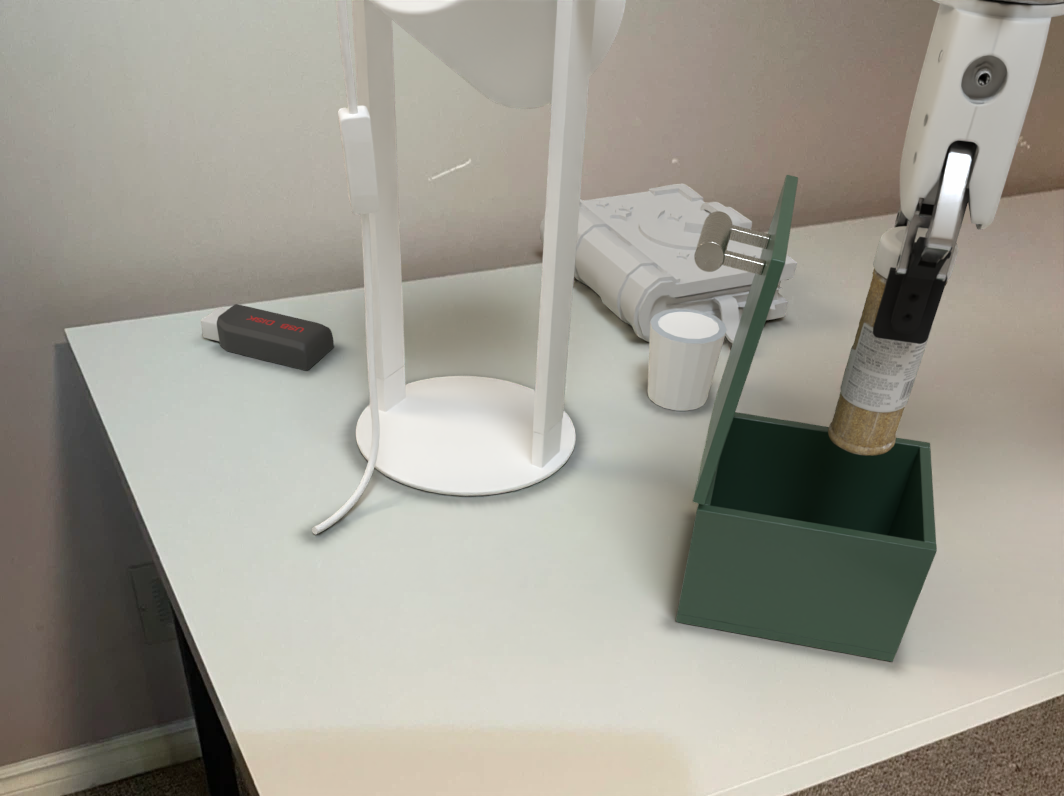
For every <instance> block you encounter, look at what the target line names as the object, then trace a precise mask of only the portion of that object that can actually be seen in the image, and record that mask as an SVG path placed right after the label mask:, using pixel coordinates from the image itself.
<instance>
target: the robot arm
mask: <svg viewBox="0 0 1064 796" xmlns="http://www.w3.org/2000/svg"><path fill="white" fill-rule="evenodd" d="M932 1H933V2H934V3H937V4H939V5H938V9H937V12H936V16H935V20H934V23H933V27H932V31H931V34H930V38H929V41H928V45H927V49H926V52H925V55H924V59H923V63H922V67H921V70H920V75H919V79H918V82H917V85H916V90H915V93H914V98H913V102H912V107H911V110H910V115H909V119H908V124H907V128H906V132H905V138H904V142H903V148H902V153H901V158H900V164H899V200H900V202H899V203H900V204H899V207H898V211H897V215H896V218H895V222H894V227H893V228H895V227H901V226H907V227H906V231H905V234H904V238H903V242H902V246H901V250H900V253H899V257H898V261H897V265H896V268H893V267H890V271H889V274H888V277H887V281H886V284H885V288H884V291H883V295H882V298H881V302H880V305H879V309H878V312H877V316H876V319H875V323H874V326H873V335H874V336H875V337H877V338H882V339H889V340H896V341H903V342H910V343H917V344H922V343H924V342H926V341H927V339H928V340H929V338H928V336H929V337H930V335H929V333H930V334H931V332H930V330H931V331H932V329H931V327H932V328H933V325H934V321H935V319H936V315H937V312H938V309H939V306H940V303H941V300H942V297H943V294H944V290H945V288H946V286H947V284H946V282H947V279H948V278H947V273H948V270H949V267H950V263H951V260H952V256H953V253H954V249H955V246H956V243H958V239H959V236H960V232H961V229H962V226H963V221H964V217H965V214H966V211H967V208H968V210H969V211H968V212H969V215H970V224H972V225H975V227H976V230H979V231H983V230H986V229H987V228H988V227H990V226H991V225H992V224H993V223H994V220H995V218H996V215H997V211H998V208H999V205H1000V201H1001V199H1002V195H1003V191H1004V188H1005V186H1006V181H1007V178H1008V175H1009V172H1010V168H1011V166H1012V163H1013V159H1014V155H1015V152H1016V149H1017V146H1018V142H1019V139H1020V137H1021V134H1022V131H1023V126H1024V124H1025V121H1026V116H1027V113H1028V110H1029V107H1030V104H1031V100H1032V97H1033V94H1034V89H1035V86H1036V82H1037V79H1038V76H1039V71H1040V68H1041V64H1042V60H1043V56H1044V52H1045V49H1046V44H1047V39H1048V35H1049V30H1050V26H1051V20H1052V18H1055V17H1056V18H1057V17H1060V16H1064V0H931V2H932ZM918 227H919V228H927V229H928V231H927V232H926V235H925V237H919V238H918V239H917V242H915V238H916V235H917V231H918ZM947 283H948V282H947ZM945 285H946V286H945Z"/></svg>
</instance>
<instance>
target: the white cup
mask: <svg viewBox="0 0 1064 796" xmlns="http://www.w3.org/2000/svg"><path fill="white" fill-rule="evenodd" d="M726 331H727V329H726V327H725V324H724V322H722V321H721V320H720V319H719V318H717V317H716V316H714V315H711V314H709V313H706V312H703V311H698V310H693V309H670V310H665V311H662V312H660V313H658V314H656V315H654V316H653V318H652V320H651V321H650V343H649V342H648V344H649V346H648V369H647V370H648V371H647V395H648V398H649V400H651V402H652V403H653V404H655V405H657V406H659V407H661V408H663V409H667V410H672V411H682V412H684V411H685V412H686V411H687V412H689V411H693V410H697V409H700V408H701V407H703V406H704V405H705V404H706V402H707V400H708V398H709V393H710V390H711V387H712V384H713V380H714V376H715V372H716V370H717V366H718V362H719V358H720V355H721V352H722V349H723V346H724V345H723V344H724V341H725V338H726V336H725V334H726Z"/></svg>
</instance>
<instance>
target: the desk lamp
mask: <svg viewBox="0 0 1064 796" xmlns="http://www.w3.org/2000/svg"><path fill="white" fill-rule="evenodd" d="M626 2H627V0H351V15H352V29H353V30H352V31H353V48H354V64H353V57H352V48H351V47H352V46H351V39H350V27H349V26H350V25H349V17H348V16H349V15H348V6H347V5H348V4H347V0H335V6H336V7H335V8H336V18H337V19H336V20H337V28H338V38H339V48H340V56H341V63H342V64H341V65H342V73H343V81H344V88H345V96H346V102H347V107H340V108H339V109H338V111H337V118H338V119H337V120H338V125H339V126H338V128H339V134H340V135H339V137H340V143H341V150H342V159H343V166H344V174H345V181H346V187H347V196H348V203H349V207H350V210H351V214H352V215H354V216H359V218H360V229H361V244H362V265H363V284H364V285H363V288H364V289H363V291H364V293H363V294H364V320H365V321H364V322H365V345H366V347H365V348H366V366H367V381H368V396H369V397H368V398H369V404H368V405H367V406H366V407H365V408H364V409H363V411H362V412H361V413H360V415H359V417H358V419H357V422H356V426H355V440H356V444H357V447H358V449H359V451H360V453H361V454H362V456H363V457H364V458H365V460H366V461H367V464H366V467H365V470H364V472H363V475H362V478H361V480H360V482H359V483H358V485H357V487H356V489H355V490H354V492H352V494H351V496H350V497H349V498H348V500H347V501H346V502H345V503H344V504H343V505H342V506H340V508H339V509H338V510H337V511H335V512H334V513H333V514H332V515H330V516H329V517H328V518H326V519H325V520H323V521H322V522H320V523H318V524H316V525H315V526H312V527H311V531H312V533H313V535H318V534H320V533H322V532H324V531H326V530H328V528H330V527H332V526H333V525H334V524H337V522H338V521H340V520H341V519H342V518H343V517H344V516H345V515H346V514H347V513H348V512H350V510H351V509H352V508H353V507H354V506H355V505H356V503H357V502H358V501H359V500H360V498H361V497H362V496H363V494H364V492H365V490H366V489H367V487H368V486H369V485H368V484H369V483H370V481H371V478H372V476H373V473H374V470H375V469H376V470H377V471H378V472H380V473H381V474H383V475H384V476H386V477H388V478H390V479H391V480H394V481H396V482H398V483H400V484H402V485H404V486H408V487H411V488H414V489H417V490H420V491H425V492H430V493H435V494H440V495H447V496H460V497H461V496H464V497H465V496H466V497H469V496H470V497H471V496H473V497H475V496H477V497H478V496H491V495H498V494H504V493H509V492H513V491H518V490H521V489H524V488H528V487H531V486H533V485H535V484H537V483H539V482H541V481H544V480H546V479H548V478H549V477H551V476H552V475H554V474H555V473H557V471H559V470H560V469H561V468H562V467H563V466H564V465H565V464H566V463H567V462H568V460H569V459H570V458H571V456H572V454H573V452H574V450H575V446H576V441H577V440H576V438H577V435H576V429H575V425H574V423H573V421H572V419H571V417H570V415H569V414H568V413H567V411H565V409H564V408H565V407H564V406H565V395H566V394H565V393H566V381H567V367H568V359H569V357H568V356H569V344H570V343H569V341H570V332H571V331H570V329H571V318H572V305H573V293H574V279H575V277H574V269H575V256H576V243H577V231H578V218H579V205H580V198H581V191H582V177H583V166H584V154H585V152H584V151H585V143H586V142H585V141H586V127H587V116H588V104H589V103H588V102H589V90H590V78H591V77H592V75H593V74H594V73H595V72H596V71H597V70H598V68H599V67H600V66H601V65H602V63H603V62H604V60H605V59H606V57H607V56H608V54H609V52H610V50H611V49H612V46H613V44H614V42H615V39H616V38H617V36H618V33H619V30H620V28H621V25H622V21H623V17H624V14H625V8H626V4H627V3H626ZM393 22H394V23H395V24H396V25H398V26H399V27H400V28H401V29H402V30H404V31H405V32H406V33H408V34H409V36H411V38H413V39H414V40H416V42H418V43H419V44H421V45H422V46H423V47H424V48H425V49H427V50H428V51H429V52H430V53H431V54H433V55H434V56H435V57H436V58H438V59H439V60H440V61H441V62H442V63H443V64H445V65H446V66H447V67H449V69H451V70H452V71H453V72H454V73H456V74H457V75H458V76H459V77H460V78H462V79H463V80H464V81H465V82H466V83H468V85H470V86H471V87H472V88H474V89H475V90H476V91H477V92H478V93H480V94H481V95H482V96H484V97H485V98H486V99H488V100H490V102H493V103H495V104H497V105H500V106H502V107H505V108H509V109H516V110H532V109H539V108H543V107H546V106H549V105H551V108H550V124H549V141H548V142H549V143H548V157H547V177H546V192H545V193H546V194H545V195H546V196H545V210H544V211H545V213H544V215H545V227H544V245H543V244H542V247H543V248H542V264H541V282H540V300H539V316H538V331H537V332H538V334H537V351H536V352H537V353H536V370H535V387H534V389H533V388H530V387H528V386H525V385H522V384H519V383H516V382H513V381H509V380H504V379H498V378H495V377H486V376H479V375H478V376H475V375H447V376H446V375H445V376H436V377H431V378H424V379H420V380H416V381H415V380H414V381H411V382H408V383H406V367H405V365H406V355H405V334H404V333H405V329H404V328H405V325H404V305H403V304H404V300H403V299H404V298H403V276H402V275H403V274H402V250H401V249H402V247H401V223H400V221H401V219H400V218H401V217H400V194H399V193H400V192H399V165H398V143H397V141H398V140H397V139H398V138H397V115H396V112H397V111H396V87H395V62H394V61H395V60H394V59H395V57H394V35H393V34H394V33H393V31H394V30H393ZM353 65H355V74H354V66H353ZM355 81H356V82H355Z"/></svg>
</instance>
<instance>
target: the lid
mask: <svg viewBox="0 0 1064 796" xmlns="http://www.w3.org/2000/svg"><path fill="white" fill-rule="evenodd" d="M798 183H799V177H798V176H795V175H790V174H786V175H785V177H784V181H783V184H782V187H781V191H780V193H779V196H778V200H777V203H776V206H775V209H774V213H773V215H772V219H771V223H770V225H769V228H768V231H767V233H766V232H762V231H759V230H755V229H752V228H751V229H747V228H743V227H739V226H735V225H732V220H731V218H730V217H729V215H727V214H726V213H724V212H721V211H716V212H713V213H711V214H709V215H708V216H707V218H706V219H705V221H704V224H703V228H702V231H701V234H700V238H699V241H698V244H697V247H696V251H695V254H694V260H695V263H696V265H697V267H698V268H699V269H701V270H702V271H705V272H713V271H716V270H717V269H719V268H720V267H721V266H722V265H723V266H727V267H731V268H735V269H739V270H743V271H747V272H751V273H755V275H754V278H753V282H752V285H751V288H750V291H749V294H748V297H747V300H746V304H745V307H744V310H743V313H742V316H741V319H740V321H739V326H738V329H737V332H736V335H735V338H734V341H733V344H731V348H730V351H729V355H728V358H727V361H726V363H725V367H724V371H723V374H722V376H721V380H720V382H719V386H718V389H717V392H716V396H715V398H714V401H713V405H712V411H711V415H710V419H709V425H708V429H707V434H706V439H705V443H704V448H703V453H702V456H701V461H700V464H699V465H700V466H699V469H698V475H697V479H696V483H695V488H694V494H693V496H692V497H693V498H692V503H694V504H697V505H698V504H702V505H704V504H705V501H706V498H707V495H708V492H709V489H710V486H711V483H712V480H713V477H714V474H715V471H716V468H717V465H718V462H719V459H720V456H721V453H722V450H723V447H724V444H725V441H726V438H727V435H728V432H729V429H730V426H731V423H732V420H733V417H734V414H735V412H737V409H738V406H739V403H740V399H741V395H742V393H743V391H744V388H745V385H746V381H747V380H748V379H747V378H748V375H749V373H750V369H751V367H752V365H753V364H752V363H753V360H754V358H755V354H756V353H757V348H758V346H759V342H760V340H761V337H762V334H763V331H764V327H765V326H766V325H765V324H766V321H767V320H766V319H767V316H768V313H769V310H770V307H771V304H772V301H773V298H774V295H775V292H776V289H777V286H778V283H779V280H780V277H781V274H782V271H783V268H784V265H785V261H786V255H788V254H787V253H788V248H789V241H790V237H791V236H790V235H791V229H792V222H793V215H794V209H795V203H796V196H797V190H798ZM729 240H732V241H736V242H740V243H744V244H747V245H751V246H755V247H759V248H763V250H762V253H761V256H760V259H759V258H755V257H751V256H747V255H743V254H739V253H735V252H732V251H728V250H727V247H728V243H729Z"/></svg>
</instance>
